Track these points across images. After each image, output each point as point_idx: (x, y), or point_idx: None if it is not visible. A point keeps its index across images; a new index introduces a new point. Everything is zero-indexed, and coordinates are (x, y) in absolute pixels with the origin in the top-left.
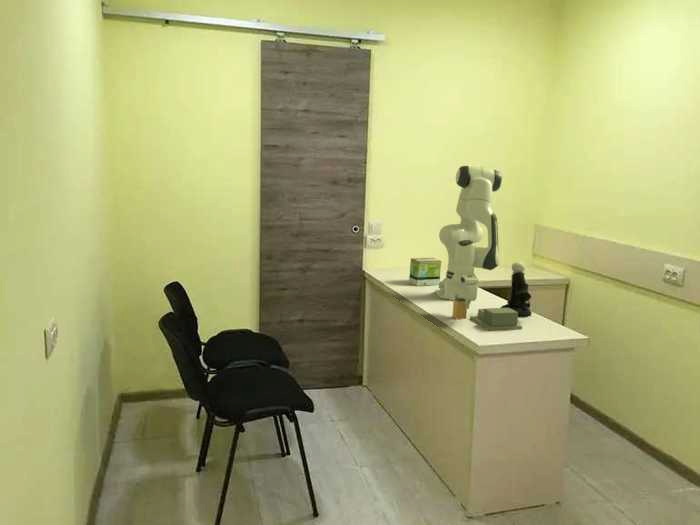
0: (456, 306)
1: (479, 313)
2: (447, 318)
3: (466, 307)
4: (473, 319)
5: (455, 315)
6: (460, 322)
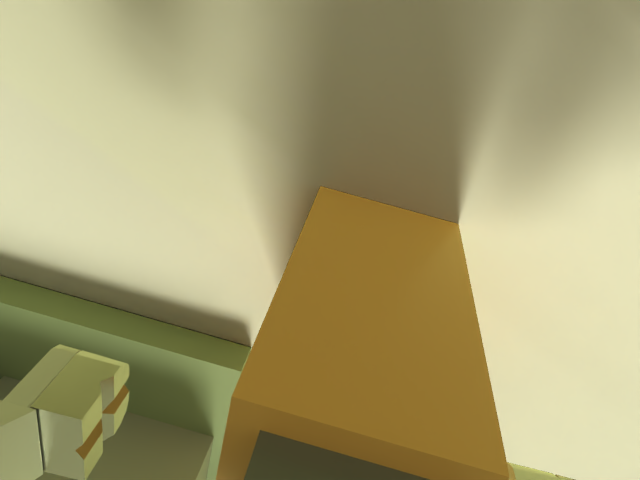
0: (293, 307)
1: (155, 468)
2: (393, 57)
3: (45, 373)
4: (148, 332)
5: (344, 214)
6: (120, 112)
